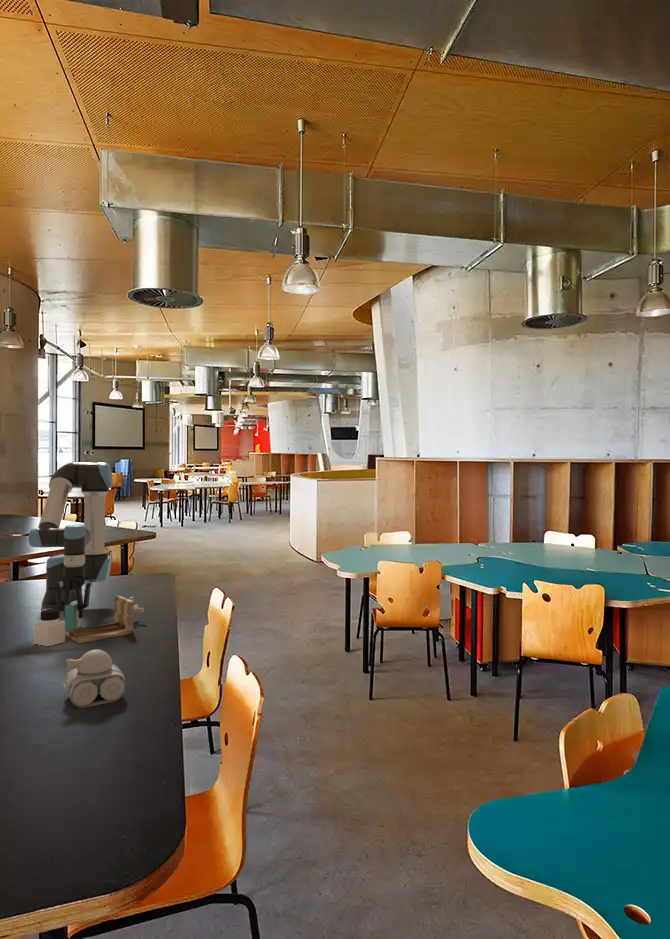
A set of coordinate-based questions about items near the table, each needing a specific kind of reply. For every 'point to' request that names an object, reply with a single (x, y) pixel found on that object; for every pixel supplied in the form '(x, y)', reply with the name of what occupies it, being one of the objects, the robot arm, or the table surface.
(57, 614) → the medicine bottle
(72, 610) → the teal rectangular block
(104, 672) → the toy tank
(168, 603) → the table surface
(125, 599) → the wooden slatted rack
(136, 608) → the pipe connector
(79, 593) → the robot arm
